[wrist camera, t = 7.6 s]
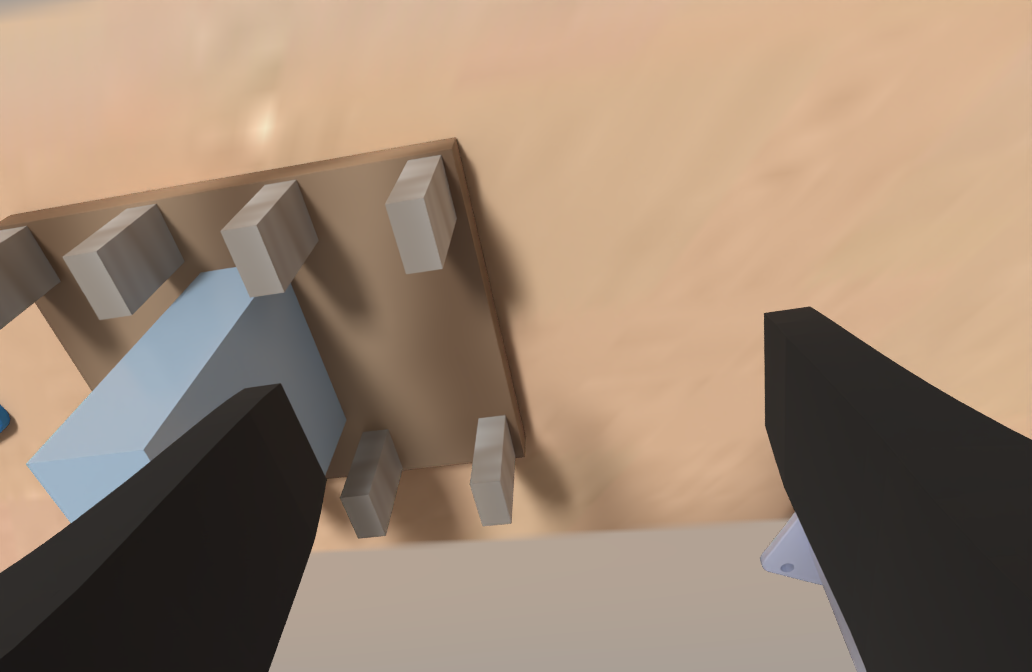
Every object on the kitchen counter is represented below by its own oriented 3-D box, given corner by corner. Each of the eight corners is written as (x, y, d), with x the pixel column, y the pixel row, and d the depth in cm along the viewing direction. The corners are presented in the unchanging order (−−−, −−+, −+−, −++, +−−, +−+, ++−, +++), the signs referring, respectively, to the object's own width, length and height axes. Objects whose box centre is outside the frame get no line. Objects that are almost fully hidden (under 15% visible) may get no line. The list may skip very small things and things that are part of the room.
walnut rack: (455, 137, 19) (435, 191, 15) (525, 437, 24) (521, 524, 21) (10, 214, 20) (-96, 278, 17) (172, 477, 26) (117, 564, 23)
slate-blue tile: (281, 260, 20) (143, 449, 13) (346, 420, 23) (262, 639, 16) (200, 272, 20) (26, 464, 13) (276, 428, 23) (165, 646, 16)
